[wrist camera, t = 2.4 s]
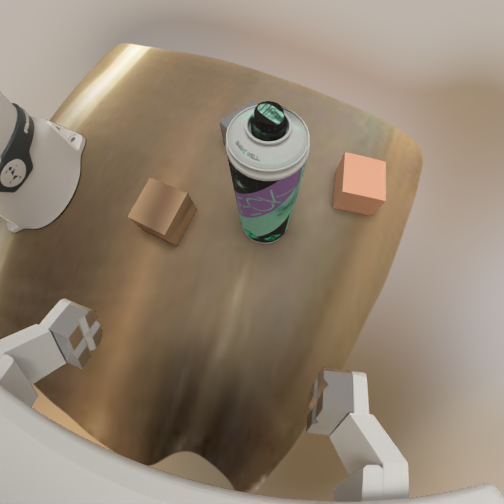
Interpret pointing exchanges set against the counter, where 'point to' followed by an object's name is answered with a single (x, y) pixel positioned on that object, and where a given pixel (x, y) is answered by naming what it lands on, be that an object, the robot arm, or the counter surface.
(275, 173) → the spray can
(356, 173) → the terracotta block
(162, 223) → the walnut block
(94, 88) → the counter surface
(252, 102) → the charcoal block
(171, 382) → the counter surface
